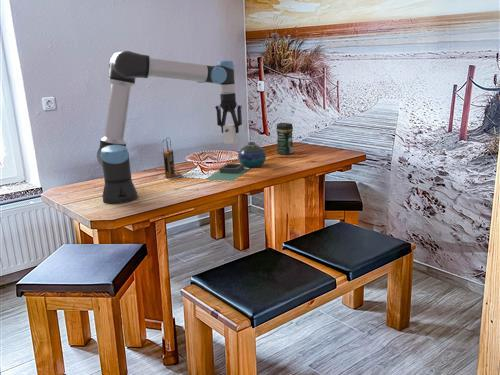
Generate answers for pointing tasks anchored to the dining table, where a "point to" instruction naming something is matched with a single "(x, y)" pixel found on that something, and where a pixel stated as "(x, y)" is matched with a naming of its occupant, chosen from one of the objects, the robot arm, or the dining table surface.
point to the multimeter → (169, 162)
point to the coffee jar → (284, 138)
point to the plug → (229, 134)
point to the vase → (252, 155)
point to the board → (228, 172)
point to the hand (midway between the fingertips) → (230, 139)
